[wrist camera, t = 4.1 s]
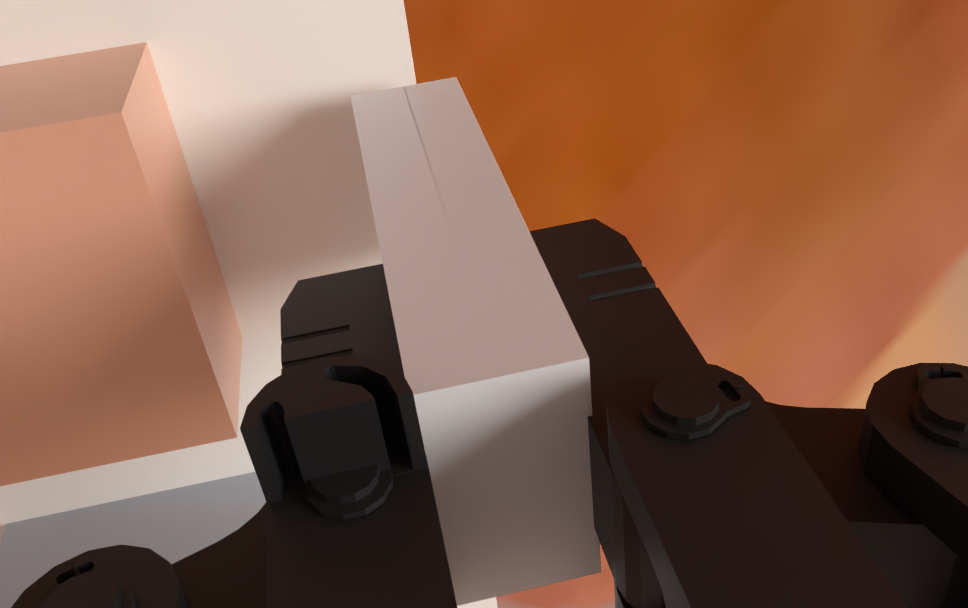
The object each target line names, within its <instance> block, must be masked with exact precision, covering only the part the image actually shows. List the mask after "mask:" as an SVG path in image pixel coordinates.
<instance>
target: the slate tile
mask: <svg viewBox="0 0 968 608" xmlns="http://www.w3.org/2000/svg"><path fill="white" fill-rule="evenodd" d="M265 503H266V499H265V497H264V494H263V491H262V488H261V486H260V483H259V480H258V477H257V475H256V472H251V473H246V474H242V475H237V476H232V477H227V478H222V479H218V480H213V481H208V482H203V483H199V484H194V485H189V486H184V487H179V488H175V489H170V490H165V491H160V492H156V493H151V494H146V495H141V496H136V497H132V498H127V499H122V500H117V501H113V502H108V503H103V504H98V505H94V506H89V507H84V508H79V509H74V510H70V511H65V512H60V513H55V514H51V515H46V516H41V517H36V518H31V519H27V520H22V521H17V522H12V523H8V524H6V527H5V530H4V533H3V536H2V539H1V542H0V608H11V607H12V606H13V604H14V603H15V602H16V600H17V599H18V598H19V596H20V595H21V594H22V593H23V591H24V590H25V589H27V588H28V587H29V586H30V585H32V584H33V583H34V582H35V581H37V580H38V579H39V578H40V577H42V576H43V575H44V574H45V573H47V572H48V571H49V570H50V569H52V568H53V567H54V566H56V565H59V564H61V563H63V562H65V561H67V560H69V559H71V558H73V557H76V556H78V555H80V554H82V553H84V552H86V551H89V550H94V549H99V548H104V547H110V546H115V545H120V544H122V545H129V546H137V547H144V548H150V549H151V550H153V551H154V552H156V553H157V554H159V555H160V556H161V557H163V558H164V559H166V560H167V561H169V562H170V564H173V563H175V562H177V561H179V560H181V559H183V558H185V557H187V556H189V555H191V554H193V553H196V552H198V551H200V550H202V549H204V548H206V547H208V546H210V545H212V544H214V543H216V542H218V541H219V540H221V539H223V538H224V537H226V536H228V535H229V534H231V533H233V532H234V531H236V530H238V529H239V528H240V527H242V526H243V525H244V524H245V523H246V522H247V521H249V520H250V519H251V518H252V517H253V516H254V515H256V514H257V513H258V512H259V510H260V509H261V508H262V507H263V505H264V504H265Z"/></svg>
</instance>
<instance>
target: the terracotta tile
mask: <svg viewBox="0 0 968 608" xmlns="http://www.w3.org/2000/svg"><path fill="white" fill-rule="evenodd" d="M241 355H242V334H241V331H240V328H239V325H238V322H237V319H236V315H235V312H234V309H233V306H232V303H231V300H230V297H229V294H228V291H227V288H226V285H225V281H224V278H223V275H222V272H221V269H220V266H219V263H218V260H217V257H216V254H215V251H214V248H213V244H212V241H211V238H210V235H209V232H208V229H207V226H206V223H205V220H204V217H203V214H202V210H201V207H200V204H199V201H198V198H197V195H196V192H195V189H194V186H193V183H192V180H191V177H190V173H189V170H188V167H187V164H186V161H185V158H184V155H183V152H182V149H181V146H180V143H179V139H178V136H177V133H176V130H175V127H174V124H173V121H172V118H171V115H170V112H169V109H168V106H167V102H166V99H165V96H164V93H163V90H162V87H161V84H160V81H159V78H158V75H157V72H156V68H155V65H154V62H153V59H152V56H151V53H150V50H149V47H148V44H147V42H145V43H138V44H132V45H126V46H120V47H114V48H108V49H102V50H96V51H89V52H83V53H77V54H71V55H65V56H59V57H53V58H47V59H40V60H34V61H28V62H22V63H16V64H10V65H4V66H0V486H4V485H9V484H14V483H19V482H24V481H29V480H33V479H38V478H43V477H48V476H53V475H58V474H63V473H68V472H72V471H77V470H82V469H87V468H92V467H97V466H102V465H106V464H111V463H116V462H121V461H126V460H131V459H136V458H140V457H145V456H150V455H155V454H160V453H165V452H170V451H175V450H179V449H184V448H189V447H194V446H199V445H204V444H209V443H213V442H218V441H223V440H228V439H233V438H237V433H238V414H239V394H240V375H241Z"/></svg>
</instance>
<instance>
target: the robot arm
mask: <svg viewBox="0 0 968 608" xmlns="http://www.w3.org/2000/svg"><path fill="white" fill-rule="evenodd" d="M351 102H352V107H353V112H354V117H355V122H356V127H357V133H358V138H359V143H360V148H361V153H362V159H363V164H364V169H365V174H366V179H367V184H368V190H369V195H370V200H371V205H372V210H373V215H374V221H375V226H376V231H377V236H378V241H379V247H380V252H381V257H382V262H383V264H378V265H373V266H368V267H363V268H358V269H353V270H348V271H343V272H338V273H333V274H328V275H323V276H318V277H313V278H308V279H303V280H298V281H297V283H296V285H295V286H294V288H293V289H292V291H291V293H290V294H289V296H288V298H287V299H286V301H285V302H284V304H283V306H282V307H281V309H280V317H281V341H282V344H281V364H282V369H281V375H280V376H278V377H277V378H275V379H274V380H272V381H270V382H269V383H267V384H266V385H265V386H264V387H263V388H262V389H261V390H260V392H259V393H258V394H257V395H256V396H255V397H254V398H253V399H252V401H251V402H250V403H249V404H248V405H247V408H246V411H245V414H244V417H243V420H242V423H241V426H240V430H241V433H242V436H243V439H244V441H245V444H246V447H247V450H248V452H249V455H250V458H251V461H252V464H253V466H254V469H255V472H256V475H257V477H258V480H259V483H260V486H261V488H262V491H263V494H264V497H265V499H266V503H265V504H264V505H263V507H262V508H261V509H260V510H259V512H258V513H257V514H256V515H254V516H253V517H252V518H251V519H250V520H249V521H247V522H246V523H245V524H244V525H243V526H242V527H240V528H239V529H238V530H236V531H234V532H233V533H231V534H229V535H228V536H226V537H224V538H223V539H221V540H219V541H218V542H216V543H214V544H212V545H210V546H208V547H206V548H204V549H202V550H200V551H198V552H196V553H193V554H191V555H189V556H187V557H185V558H183V559H181V560H179V561H177V562H175V563H173V564H170V562H169V561H167V560H166V559H164V558H163V557H161V556H160V555H159V554H157V553H156V552H154V551H153V550H151V549H150V548H144V547H137V546H129V545H122V544H120V545H115V546H110V547H104V548H99V549H94V550H89V551H86V552H84V553H82V554H80V555H78V556H76V557H73V558H71V559H69V560H67V561H65V562H63V563H61V564H59V565H56V566H54V567H53V568H52V569H50V570H49V571H48V572H47V573H45V574H44V575H43V576H42V577H40V578H39V579H38V580H37V581H35V582H34V583H33V584H32V585H30V586H29V587H28V588H27V589H25V590H24V591H23V593H22V594H21V595H20V596H19V598H18V599H17V600H16V602H15V603H14V604H13V606H12V607H11V608H457V606H459V605H464V604H468V603H472V602H476V601H481V600H485V599H489V598H493V597H498V596H502V595H506V594H510V593H515V592H519V591H523V590H528V589H532V588H536V587H540V586H545V585H549V584H553V583H557V582H562V581H566V580H570V579H574V578H579V577H583V576H587V575H591V574H596V573H600V572H601V558H600V544H601V546H602V549H603V551H604V554H605V557H606V559H607V562H608V564H609V567H610V570H611V572H612V575H613V577H614V586H615V608H968V367H967V366H962V365H958V364H954V363H918V364H914V365H910V366H906V367H902V368H899V369H895V370H892V371H891V372H890V373H888V374H887V375H885V376H884V377H883V378H881V379H880V380H879V381H877V382H876V383H874V385H873V388H872V390H871V393H870V395H869V398H868V400H867V403H866V409H846V408H804V407H794V406H784V405H778V404H774V403H770V402H766V401H765V400H764V399H763V397H762V396H761V394H760V393H758V392H757V391H756V390H755V389H754V388H753V387H752V386H751V385H750V384H749V383H748V382H747V381H746V380H745V379H744V378H743V377H741V376H739V375H737V374H734V373H732V372H730V371H728V370H726V369H724V368H721V367H719V366H717V365H711V364H707V362H706V361H705V359H704V358H703V356H702V355H701V353H700V352H699V350H698V348H697V347H696V345H695V344H694V342H693V341H692V339H691V338H690V336H689V334H688V333H687V331H686V330H685V328H684V327H683V325H682V324H681V322H680V321H679V319H678V317H677V316H676V314H675V313H674V311H673V310H672V308H671V307H670V305H669V303H668V302H667V300H666V299H665V297H664V296H663V294H662V293H661V291H660V289H659V288H656V286H655V282H654V280H653V279H652V277H651V275H650V274H649V272H648V271H647V269H646V268H645V267H643V266H642V262H641V260H640V258H639V257H638V255H637V254H636V252H635V251H634V249H633V248H632V246H631V244H630V243H629V241H628V240H627V238H626V237H625V236H623V235H622V234H620V233H618V232H617V231H615V230H613V229H612V228H610V227H608V226H606V225H605V224H603V223H601V222H600V221H598V220H596V219H590V220H585V221H580V222H575V223H570V224H565V225H560V226H555V227H550V228H545V229H540V230H534V231H529V230H528V228H527V226H526V223H525V221H524V219H523V217H522V215H521V213H520V211H519V209H518V207H517V204H516V202H515V200H514V198H513V196H512V194H511V192H510V190H509V188H508V185H507V183H506V181H505V179H504V177H503V175H502V173H501V171H500V169H499V166H498V164H497V162H496V160H495V158H494V156H493V154H492V152H491V150H490V147H489V145H488V143H487V141H486V139H485V137H484V135H483V133H482V131H481V128H480V126H479V124H478V122H477V120H476V118H475V116H474V114H473V112H472V109H471V107H470V105H469V103H468V101H467V99H466V97H465V95H464V93H463V90H462V88H461V86H460V84H459V82H458V80H457V78H456V77H453V78H448V79H442V80H437V81H431V82H425V83H420V84H414V85H409V86H403V87H398V88H392V89H387V90H381V91H375V92H370V93H364V94H359V95H353V96H351Z"/></svg>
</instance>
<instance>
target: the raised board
mask: <svg viewBox="0 0 968 608" xmlns="http://www.w3.org/2000/svg"><path fill="white" fill-rule="evenodd" d="M145 42H147V44H148V47H149V50H150V53H151V56H152V59H153V62H154V65H155V68H156V72H157V75H158V78H159V81H160V84H161V87H162V90H163V93H164V96H165V99H166V102H167V106H168V109H169V112H170V115H171V118H172V121H173V124H174V127H175V130H176V133H177V136H178V139H179V143H180V146H181V149H182V152H183V155H184V158H185V161H186V164H187V167H188V170H189V173H190V177H191V180H192V183H193V186H194V189H195V192H196V195H197V198H198V201H199V204H200V207H201V210H202V214H203V217H204V220H205V223H206V226H207V229H208V232H209V235H210V238H211V241H212V244H213V248H214V251H215V254H216V257H217V260H218V263H219V266H220V269H221V272H222V275H223V278H224V281H225V285H226V288H227V291H228V294H229V297H230V300H231V303H232V306H233V309H234V312H235V315H236V319H237V322H238V325H239V328H240V331H241V334H242V355H241V375H240V394H239V414H238V433H237V438H233V439H228V440H223V441H218V442H213V443H209V444H204V445H199V446H194V447H189V448H184V449H179V450H175V451H170V452H165V453H160V454H155V455H150V456H145V457H140V458H136V459H131V460H126V461H121V462H116V463H111V464H106V465H102V466H97V467H92V468H87V469H82V470H77V471H72V472H68V473H63V474H58V475H53V476H48V477H43V478H38V479H33V480H29V481H24V482H19V483H14V484H9V485H4V486H0V542H1V539H2V536H3V533H4V530H5V527H6V524H8V523H12V522H17V521H22V520H27V519H31V518H36V517H41V516H46V515H51V514H55V513H60V512H65V511H70V510H74V509H79V508H84V507H89V506H94V505H98V504H103V503H108V502H113V501H117V500H122V499H127V498H132V497H136V496H141V495H146V494H151V493H156V492H160V491H165V490H170V489H175V488H179V487H184V486H189V485H194V484H199V483H203V482H208V481H213V480H218V479H222V478H227V477H232V476H237V475H242V474H246V473H251V472H255V469H254V466H253V464H252V461H251V458H250V455H249V452H248V450H247V447H246V444H245V441H244V439H243V436H242V433H241V430H240V426H241V423H242V420H243V417H244V414H245V411H246V408H247V405H248V404H249V403H250V402H251V401H252V399H253V398H254V397H255V396H256V395H257V394H258V393H259V392H260V390H261V389H262V388H263V387H264V386H265V385H266V384H267V383H269V382H270V381H272V380H274V379H275V378H277V377H278V376H280V375H281V369H282V364H281V344H282V341H281V317H280V309H281V307H282V306H283V304H284V302H285V301H286V299H287V298H288V296H289V294H290V293H291V291H292V289H293V288H294V286H295V285H296V283H297V281H298V280H303V279H308V278H313V277H318V276H323V275H328V274H333V273H338V272H343V271H348V270H353V269H358V268H363V267H368V266H373V265H378V264H383V262H382V257H381V252H380V247H379V241H378V236H377V231H376V226H375V221H374V215H373V210H372V205H371V200H370V195H369V190H368V184H367V179H366V174H365V169H364V164H363V159H362V153H361V148H360V143H359V138H358V133H357V127H356V122H355V117H354V112H353V107H352V102H351V96H353V95H359V94H364V93H370V92H375V91H381V90H387V89H392V88H398V87H403V86H409V85H414V84H416V79H415V72H414V66H413V59H412V53H411V46H410V40H409V33H408V27H407V21H406V14H405V8H404V1H403V0H0V66H4V65H10V64H16V63H22V62H28V61H34V60H40V59H47V58H53V57H59V56H65V55H71V54H77V53H83V52H89V51H96V50H102V49H108V48H114V47H120V46H126V45H132V44H138V43H145ZM457 608H497V601H496V597H493V598H489V599H485V600H481V601H476V602H472V603H468V604H464V605H459V606H457Z"/></svg>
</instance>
